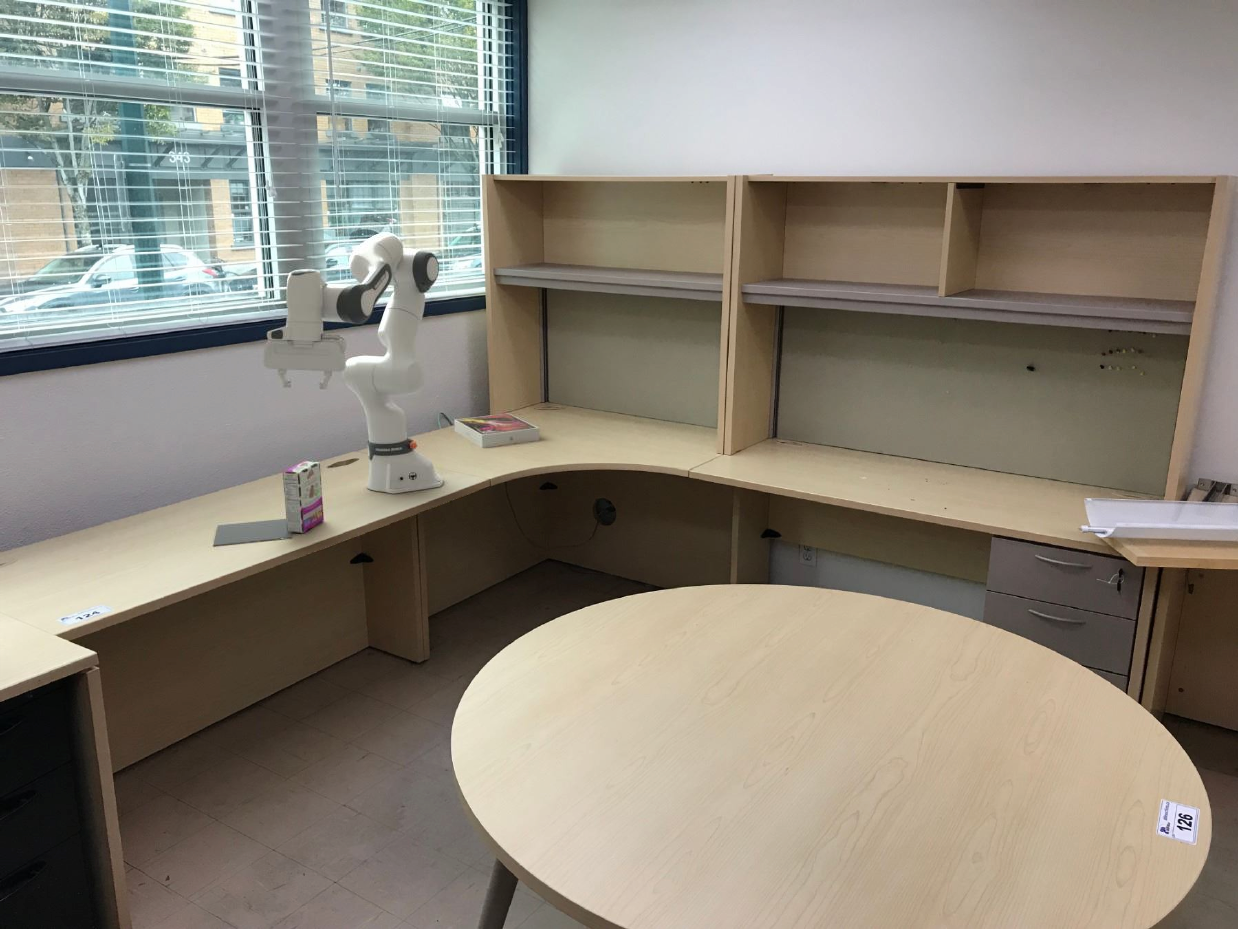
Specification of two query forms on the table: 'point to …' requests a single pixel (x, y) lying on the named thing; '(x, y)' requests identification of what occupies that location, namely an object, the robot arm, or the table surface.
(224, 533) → the mat
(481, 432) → the product packaging
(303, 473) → the candy bar box
